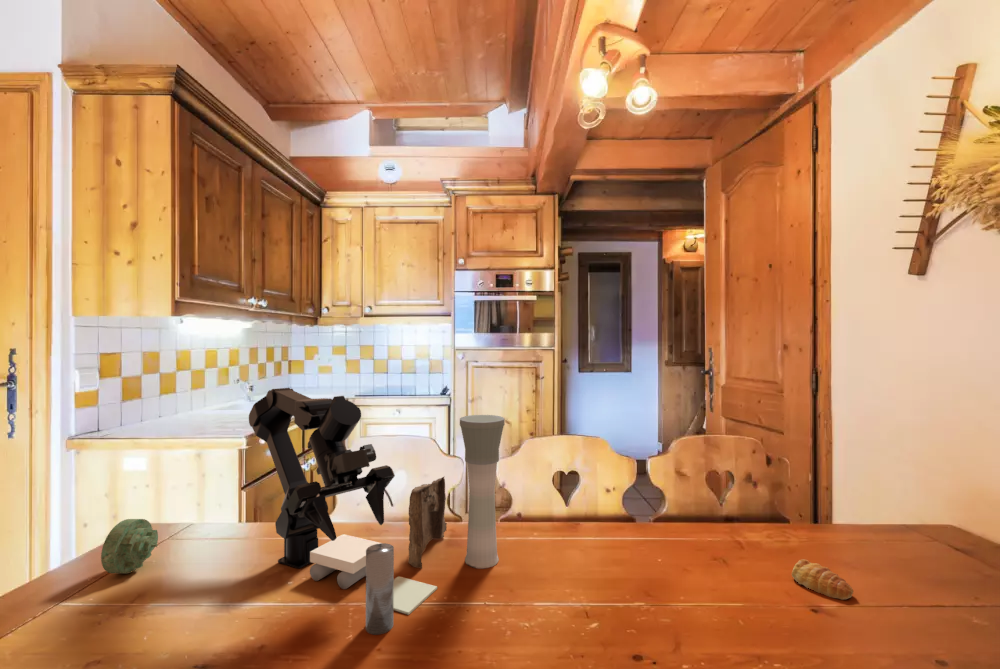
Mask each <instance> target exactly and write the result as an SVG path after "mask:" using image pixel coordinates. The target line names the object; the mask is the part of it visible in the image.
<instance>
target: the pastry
mask: <svg viewBox="0 0 1000 669" xmlns="http://www.w3.org/2000/svg"><path fill="white" fill-rule="evenodd" d="M791 576H792V578H793V579H794V580H795V581H796V583H797V582H798V583H797V584H799V585H802V586H804V587H805V588H806V589H808V588H809V589H808V590H810V589H812V590H814V591H813V592H816V593H818V594H820V593H821V595H823V594H824V596H825V597H826V596H827V597H829V598H832V599H839V600H842V601H844V600H848V599H850V598H852V596H853V594H854V589H853V587H852V586H851V585H850V584H849V583H848V582H847V581H846V579H844V578H842V577H840V575H839V574H837V573H835V572H833V571H831V569H830V568H829V567H827V566H822V565H821V564H820V563H816V562H815V563H814V562H810V561H809V560H808V559H804V558H803V559H799V560H798V561H797V562H796V563H795V565H794V566H793V569H792V571H791ZM812 590H811V591H812Z"/></svg>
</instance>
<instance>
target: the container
mask: <svg viewBox="0 0 1000 669" xmlns="http://www.w3.org/2000/svg"><path fill="white" fill-rule="evenodd" d="M459 426H460V429H461V433H462V434H461V435H462V440H463V444H464V449H465V452H464V462H465V463H466V464H467V477H468V478H467V479H468V487H469V488H468V489H469V492H468V497H469V498H468V520H467V521H468V522H467V540H466V554H465V555H466V556H465V557H464V561H465V562H464V563H465V564H466V565H467V566H468V567H470V568H474V569H489V568H492V567H494V566H497V564H498V563H499V555H498V544H497V543H498V542H497V524H496V523H497V522H496V498H495V497H496V494H495V487H496V480H497V479H496V478H497V467H498V462H499V461H500V445H501V439H502V437H503V436H502V435H503V430H504V426H505V417H503V416H500V415H495V414H494V415H493V414H472V415H466V416H465V415H464V416H461V417H460V418H459Z"/></svg>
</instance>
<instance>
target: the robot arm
mask: <svg viewBox="0 0 1000 669" xmlns="http://www.w3.org/2000/svg"><path fill="white" fill-rule="evenodd" d="M293 417H294V424H295V425H296V426H297V427H298V429H300V430H302V431H309V430H313V432H312V433H311V434H310V436H309V439H308V441H307V445H306V446H307V447H306V448H307V449H310V450H311V449H312V452H313V455H314V458H315V460H316V464H317V466H318V467H317V468H316V470H315V471H316V474H317V475H321V476H320V477H321V478H322V481H323V484H324V486H322V487H321V483H320V482H318V481H313V482H312V481H311V482H309V481H307V477H306V476H305V473H304V471H303V470H304V469H303V467H302V466H301V462H300V460H299V457H298V455H297V453H296V450H295V447H294V444H293V442H292V439H291V436H290V434H289V432H288V431H289V429H290V428H289V427H290V424H291V421H292V418H293ZM361 418H362V411H361V409H360V407H358V406H357V405H356V404H355V403H354V402H352V401H350V400H347V399H346V398H345V396H344V395H338V396H333V398H326V397H325V398H321V397H320V398H311V397H309V396H308V395H307V396H306V395H304V394H302V393H300V392H297V391H295V390H294V388H290V387H284V388H283V387H280V388H272V389H270V390H268V391H267V393H266V395H265V396H264V397H262V398H261V399H259V400H258V401H256V402H255V403H254V404H253V405H252V407H251V410H250V411H249V415H248V424H249V426H250V427H252V430H253V433H254V434H255V436H256V437H257V438H259V439H260V440H262V441H264V442H266V444H267V447H268V451H269V452H270V456H271V458H272V461H273V463H274V464H273V465H274V467H275V470H276V473H277V475H278V478H279V479H278V480H280V481H279V482H280V484H281V487H282V490H283V493H284V498H283V501H282V503H281V508H280V511H281V512H280V514H279V516H278V517H277V519H276V520H275V530H276V531H275V532H276V534H277V535H278V536H280V537H281V538H283V542H284V544H283V550H284V551H283V556H282V557H281V558H278V559H277V563H279V564H282V565H285V566H288V567H293V568H295V569H301V568H304V567H305V566H307V565H308V564H310V563H312V562H310V551H312V550H314V549H316V548H318V547H319V537H318V530H320V531H321V532H323V534H325V535H326V537H327V538H329V539H330V541H331V540H332V541H334V540H335V539H336V538H337V534H336V533H337V532H336V530H335V527H334V524H333V522H332V519H331V516H330V514H329V506H328V503H327V500H326V498H330V497H334V496H337V495H342V494H345V493H350V492H353V491H357V490H361V489H363V491H364V492H365V493H366V496H365V499H366V501H367V503H368V505H369V507H370V509H371V511H372V513H373V515H374V517H375V519H376V522H377V523H378V524H379V526H382V525H383V524H384V523H385V508H384V506H385V502H384V500H385V491H386V490H385V489H386V488H387V487H388V486H389V484H390V483H391V481H392V480H393V479H394V478H395V476H396V475H395V473H394V471H393V468H392V467H391V466H389V465H382V466H377V467H374V468H371V469H370V470H369V472H368V473H367V474H366V475H365V476H362V477H358V476H361V474H362V473H363V469H364V468H369V467H370V463H371V462H374V461H376V459H377V453H376V450H375V447H374V446H373V444H372V443H370V444H369V443H368V444H364V445H362V446H360V447H359V450H354V451H353V450H352V449H347V447H346V444H345V441H346V440H348V438H349V437H350V435H351V434H352V432H353V431H354V429H355V428H356V426H357V425H358V423H359V422H360V420H361Z"/></svg>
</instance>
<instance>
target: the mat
mask: <svg viewBox="0 0 1000 669" xmlns="http://www.w3.org/2000/svg"><path fill="white" fill-rule="evenodd" d="M436 590H438V586H437V585H432V584H429V583H427V582H426V583H425V582H421V581H418V580H414V579H410V578H406V577H403V576H399V575H398V576H397V577H395V578H394V611H395V612H398V613H401V614H405V615H408V616H409V615H410V614H412V612H414V611H415V610H416V609H417V608H418V607H419V606H421V604H422V603H424V602H425V601H426V599H428V598H429V597H431V595H432V594H434V592H436Z"/></svg>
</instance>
